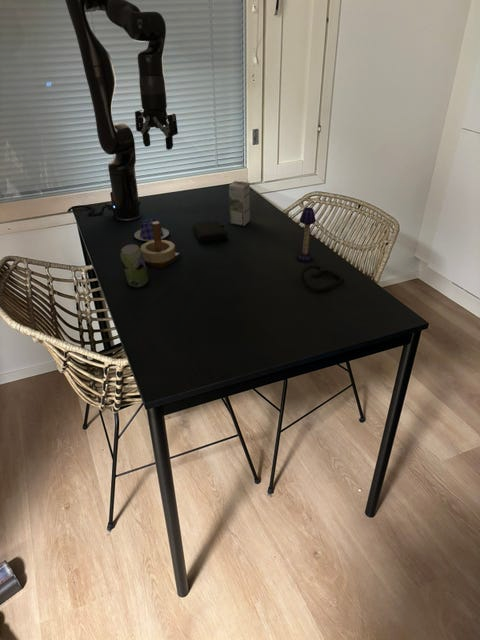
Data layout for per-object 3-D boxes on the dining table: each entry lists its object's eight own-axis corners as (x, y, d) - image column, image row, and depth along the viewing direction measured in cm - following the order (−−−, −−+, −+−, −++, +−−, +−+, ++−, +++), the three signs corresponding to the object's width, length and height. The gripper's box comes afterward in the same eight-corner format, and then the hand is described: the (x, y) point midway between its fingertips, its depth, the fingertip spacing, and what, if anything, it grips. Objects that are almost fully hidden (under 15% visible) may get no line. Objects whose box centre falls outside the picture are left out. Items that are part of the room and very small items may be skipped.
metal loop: (335, 259, 146) (351, 273, 138) (333, 275, 149) (348, 290, 140) (294, 261, 142) (307, 276, 134) (291, 278, 145) (305, 293, 137)
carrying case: (231, 241, 167) (221, 225, 179) (231, 233, 165) (220, 217, 177) (200, 245, 165) (192, 229, 177) (200, 237, 163) (191, 221, 175)
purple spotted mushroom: (315, 260, 155) (319, 209, 146) (303, 264, 153) (307, 212, 144) (306, 254, 158) (309, 204, 149) (294, 258, 156) (297, 207, 147)
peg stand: (139, 262, 155) (134, 225, 148) (157, 251, 161) (153, 215, 154) (162, 269, 151) (158, 230, 144) (179, 257, 158) (176, 220, 151)
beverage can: (153, 280, 145) (148, 242, 138) (140, 292, 139) (135, 253, 132) (134, 277, 147) (128, 239, 140) (121, 289, 141) (114, 250, 134)
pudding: (163, 226, 179) (161, 212, 176) (174, 238, 170) (172, 224, 167) (130, 232, 175) (128, 218, 172) (139, 245, 165) (138, 230, 163)
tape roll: (134, 258, 154) (133, 249, 152) (155, 246, 161) (154, 237, 160) (161, 265, 150) (161, 256, 148) (181, 252, 157) (180, 243, 156)
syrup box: (250, 220, 183) (250, 181, 175) (243, 226, 178) (243, 186, 170) (236, 218, 185) (235, 180, 177) (229, 224, 180) (228, 184, 172)
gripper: (180, 91, 146) (183, 147, 155) (142, 87, 152) (147, 142, 161) (164, 95, 140) (169, 153, 149) (125, 91, 146) (132, 147, 155)
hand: (158, 147), depth 155 cm, fingers open, 8 cm apart
